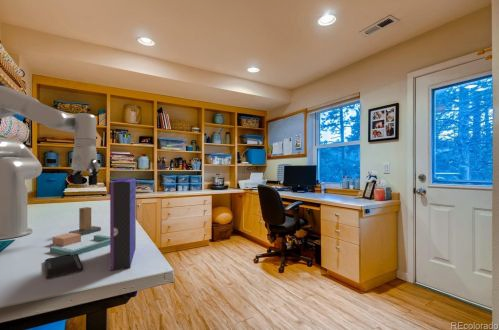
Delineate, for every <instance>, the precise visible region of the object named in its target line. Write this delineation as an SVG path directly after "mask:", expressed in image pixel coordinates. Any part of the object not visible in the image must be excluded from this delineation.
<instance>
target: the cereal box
mask: <svg viewBox="0 0 499 330" xmlns="http://www.w3.org/2000/svg"><path fill="white" fill-rule="evenodd" d="M136 183H137V181H136V178H132V177H131V178H129V177H128V178H119V179H116V180H114V181H110V183H109V185H110V187H109V188H110V191H109V195H110V197H109V198H110V199H109V203H110V204H109V207H110V209H109V210H110V211H109V213H110V214H109V215H110V216H109V227H110V229H109V233H110V234H109V237H110V245H109V249H110V250H109V251H110V253H109V257H110V258H109V259H110V260H109V265H110V266H109V267H110V269H109V270H110V272H112V271H118V270H125V269H126V270H127V269H131V266H132V262H133V259H134V255H135V251H136V246H137V245H136V239H137V238H136V237H137V236H136V231H137V228H136V226H137V224H136V222H137V221H136V218H137V217H136V215H137V214H136V212H137V210H136V208H137V207H136V206H137V205H136V202H137V201H136V199H137V198H136V197H137V196H136V190H137V189H136Z"/></svg>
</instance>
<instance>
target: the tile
mask: <svg viewBox="0 0 499 330" xmlns="http://www.w3.org/2000/svg"><path fill="white" fill-rule="evenodd" d="M81 242H82V236H81V234H76V233H69V232H68V233H64V234H59V235H55V236H52V245H53V246H57V247H62V248H65V247H66V246H69V245H75V244H77V243H81Z"/></svg>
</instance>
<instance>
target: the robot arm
mask: <svg viewBox="0 0 499 330" xmlns="http://www.w3.org/2000/svg"><path fill="white" fill-rule="evenodd" d="M14 115H19V116H21V117H24V118H26V119H28V120H30V121H32V122H35V123H37V124H40V125H42V126H45V127H47V128H50V129H53V130H57V131H63V132H67V133H74V135H73V138H74V140H73V141H74V144H73V149H72V156H71V164H70V166H71V172H72V175H73V179H72V180H73V181H72V183H73V185H82V184H83V172H84V171H87V172H88V174H89V175H88V177H87V178H88V181H87V183H88V186H97V185H98V175H99V172H100V168H101V164H100V163H99V162H98V152H97V118H96V116H95V115H94V114H92V113H86V112H85V113H84V112H78V113H76V114H71V113H68V112H66V111H63V110H59V109H56V108H54V107H51V106H49V105H47V104H44V103H42V102H40V100H38V99H37V98H35V97H32V96H30V95H28V94H25V93H24V92H21V91H20V90H17V89H13V88H10V87H8V86H6V85H0V120H1V119H4V118H8V117H12V116H14ZM42 171H43V166H42V163H41V162H40V161H39V159H38V158H37V157H36V156H35V155H34V154H33V153H32V151H31V150H30V149H29V148H28V147H27V146H26V145H25V144H24V143H23V142H21V141H20V140H17V139H15V138H10V137H3V136H0V240H5V239H6V240H8V239H14V238H20V237H24V236H27V235H30V234H32V233H33V229H32V228H29V227H28V188H27V187H28V186H27V184H26V183H25V180H26V181H27V180H32V179H36V178H38V177H40V175H41V174H42Z"/></svg>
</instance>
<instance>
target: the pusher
mask: <svg viewBox="0 0 499 330" xmlns="http://www.w3.org/2000/svg"><path fill="white" fill-rule="evenodd" d="M78 209H79V210H78V211H79V214H78V215H79V216H78V217H79V218H78V221H79V224H78V227H79V229H75V230H70V231H68V233H76V234H81V237H82V236H86V235H90V234H93V233H97V232H100V231H102V227H101V226H95V225H92V207H90V206H85V207H79V208H78Z"/></svg>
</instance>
